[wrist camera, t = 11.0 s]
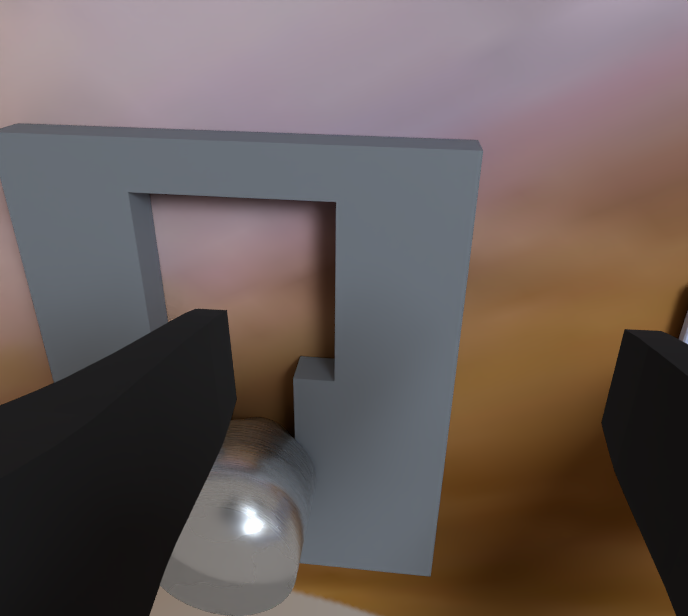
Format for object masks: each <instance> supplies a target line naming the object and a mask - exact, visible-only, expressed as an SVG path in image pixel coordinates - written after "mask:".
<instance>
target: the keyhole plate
mask: <svg viewBox="0 0 688 616" xmlns="http://www.w3.org/2000/svg"><path fill="white" fill-rule="evenodd" d="M482 156H483V150H482V147H481V145H480V143H479V141H478V140H460V139H432V138H405V137H377V136H350V135H322V134H295V133H267V132H239V131H212V130H184V129H157V128H129V127H102V126H74V125H46V124H19V123H18V124H14V125H11V126H7V127H4V128H0V179H1V183H2V186H3V190H4V194H5V198H6V202H7V205H8V209H9V213H10V217H11V221H12V224H13V228H14V232H15V236H16V240H17V244H18V247H19V251H20V255H21V259H22V263H23V266H24V270H25V274H26V278H27V282H28V285H29V289H30V293H31V297H32V301H33V305H34V308H35V312H36V316H37V320H38V324H39V327H40V331H41V335H42V339H43V343H44V347H45V350H46V354H47V358H48V362H49V366H50V369H51V373H52V377H53V381H54V383H55V382H57V381H59V380H61V379H63V378H66V377H68V376H70V375H72V374H73V373H75V372H77V371H79V370H81V369H83V368H85V367H87V366H89V365H91V364H93V363H95V362H97V361H99V360H101V359H103V358H105V357H107V356H109V355H111V354H113V353H114V352H116V351H118V350H120V349H122V348H123V347H125V346H127V345H129V344H131V343H132V342H134V341H136V340H138V339H140V338H141V337H143V336H145V335H147V334H148V333H150V332H152V331H154V330H155V329H157V328H159V327H161V326H163V325H164V324H166V323H168V319H167V312H166V305H165V298H164V291H163V284H162V277H161V270H160V263H159V256H158V250H157V243H156V236H155V229H154V222H153V215H152V208H151V201H150V194H149V193H155V194H176V195H197V196H219V197H240V198H261V199H283V200H304V201H325V202H336V272H335V359H333V358H319V357H305V356H300V359H299V362H298V365H297V368H296V371H295V374H294V377H293V388H294V420H295V440H297V441H298V442H299V443H300V444H301V445H302V446H303V448H304V449H305V450H306V451H307V453H308V454H309V456H310V458H311V460H312V462H313V465H314V468H315V472H316V485H315V490H314V495H313V499H312V504H311V509H310V514H309V518H308V523H307V528H306V533H305V538H304V542H303V547H302V552H301V557H300V562H299V563H305V564H315V565H325V566H334V567H344V568H354V569H363V570H373V571H382V572H392V573H402V574H411V575H421V576H431V568H432V560H433V552H434V544H435V536H436V528H437V520H438V511H439V503H440V495H441V487H442V479H443V471H444V463H445V455H446V447H447V439H448V431H449V422H450V414H451V406H452V398H453V390H454V382H455V374H456V366H457V358H458V350H459V342H460V334H461V325H462V317H463V309H464V301H465V293H466V285H467V277H468V269H469V261H470V253H471V245H472V236H473V228H474V220H475V212H476V204H477V196H478V188H479V180H480V172H481V164H482Z"/></svg>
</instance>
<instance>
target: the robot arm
mask: <svg viewBox="0 0 688 616" xmlns="http://www.w3.org/2000/svg"><path fill="white" fill-rule="evenodd" d="M236 400H237V398H236V388H235V379H234V370H233V361H232V352H231V343H230V334H229V325H228V316H227V310H209V309H194V310H192V311H189V312H187V313H185V314H183V315H181V316H179V317H177V318H175V319H173V320H172V321H170V322H168V323H166V324H164V325H163V326H161V327H159V328H157V329H155V330H154V331H152V332H150V333H148V334H147V335H145V336H143V337H141V338H140V339H138V340H136V341H134V342H132V343H131V344H129V345H127V346H125V347H123V348H122V349H120V350H118V351H116V352H114V353H113V354H111V355H109V356H107V357H105V358H103V359H101V360H99V361H97V362H95V363H93V364H91V365H89V366H87V367H85V368H83V369H81V370H79V371H77V372H75V373H73V374H72V375H70V376H68V377H66V378H63V379H61V380H59V381H57V382H55V383H53V384H50V385H48V386H46V387H44V388H41V389H39V390H37V391H35V392H32V393H30V394H27V395H25V396H22V397H20V398H18V399H15V400H13V401H10V402H8V403H5V404H3V405H0V616H149V615H150V612H151V609H152V606H153V603H154V600H155V597H156V595H157V592H158V589H159V586H160V583H161V580H162V578H163V575H164V572H165V569H166V566H167V564H168V562H169V559H170V557H171V555H172V552H173V550H174V547H175V545H176V543H177V541H178V539H179V536H180V534H181V532H182V530H183V528H184V526H185V524H186V522H187V520H188V518H189V515H190V513H191V511H192V509H193V507H194V505H195V503H196V501H197V499H198V497H199V494H200V492H201V490H202V488H203V486H204V484H205V482H206V480H207V478H208V475H209V473H210V471H211V469H212V467H213V465H214V463H215V460H216V458H217V456H218V454H219V452H220V449H221V447H222V445H223V443H224V440H225V436H226V433H227V430H228V427H229V424H230V421H231V417H232V414H233V410H234V407H235V403H236ZM601 423H602V427H603V431H604V435H605V439H606V443H607V447H608V450H609V454H610V457H611V461H612V464H613V468H614V471H615V474H616V476H617V478H618V481H619V483H620V486H621V488H622V490H623V493H624V495H625V497H626V500H627V502H628V504H629V506H630V509H631V511H632V513H633V516H634V518H635V520H636V522H637V525H638V527H639V529H640V531H641V534H642V536H643V538H644V540H645V543H646V545H647V547H648V549H649V552H650V554H651V556H652V559H653V561H654V563H655V565H656V568H657V570H658V572H659V574H660V577H661V579H662V581H663V583H664V586H665V588H666V591H667V593H668V596H669V598H670V601H671V603H672V606H673V608H674V611H675V614H676V616H688V311H687V314H686V318H685V321H684V324H683V327H682V330H681V333H680V336H679V339H677V338H675V337H673V336H671V335H669V334H667V333H664V332H662V331H648V330H627V329H625V330H624V334H623V338H622V342H621V346H620V350H619V354H618V358H617V362H616V366H615V370H614V374H613V378H612V382H611V386H610V390H609V394H608V398H607V402H606V406H605V410H604V414H603V418H602V422H601Z"/></svg>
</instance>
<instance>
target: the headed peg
mask: <svg viewBox="0 0 688 616" xmlns="http://www.w3.org/2000/svg"><path fill="white" fill-rule="evenodd" d="M315 485H316V472H315V468H314V465H313V462H312V460H311V458H310V456H309V454H308V453H307V451H306V450H305V449H304V448H303V446H302V445H301V444H300V443H299V442H298V441H297V440H295V439H294V438H293V437H292V436H290V434H289V433H288V431H287V430H286V429H285V428H284V427H283V426H281V425H280V424H278V423H277V422H275V421H273V420H270V419H267V418H262V417H250V418H246V419H243V420H231V421H230V424H229V427H228V430H227V433H226V436H225V440H224V443H223V445H222V447H221V449H220V452H219V454H218V456H217V458H216V460H215V463H214V465H213V467H212V469H211V471H210V473H209V475H208V478H207V480H206V482H205V484H204V486H203V488H202V490H201V492H200V494H199V497H198V499H197V501H196V503H195V505H194V507H193V509H192V511H191V513H190V515H189V518H188V520H187V522H186V524H185V526H184V528H183V530H182V532H181V534H180V536H179V539H178V541H177V543H176V545H175V547H174V550H173V552H172V555H171V557H170V559H169V562H168V564H167V566H166V569H165V572H164V575H163V578H162V580H161V583H160V586H161V587H162V588H163V589H164V590H165V591H167V592H168V593H169V594H170V595H172V596H174V597H175V598H176V599H178V600H180V601H182V602H184V603H185V604H187V605H190V606H192V607H195V608H198V609H200V610H203V611H206V612H210V613H215V614H221V615H230V616H244V615H252V614H257V613H261V612H264V611H267V610H270V609H272V608H274V607H276V606H277V605H279V604H280V603H282V602H283V601H284V600H285V599H286V598H287V597H288V595H289V594H290V593H291V591H292V589H293V587H294V584H295V581H296V576H297V571H298V566H299V562H300V557H301V552H302V547H303V542H304V538H305V533H306V528H307V523H308V518H309V514H310V509H311V504H312V499H313V495H314V490H315Z"/></svg>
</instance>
